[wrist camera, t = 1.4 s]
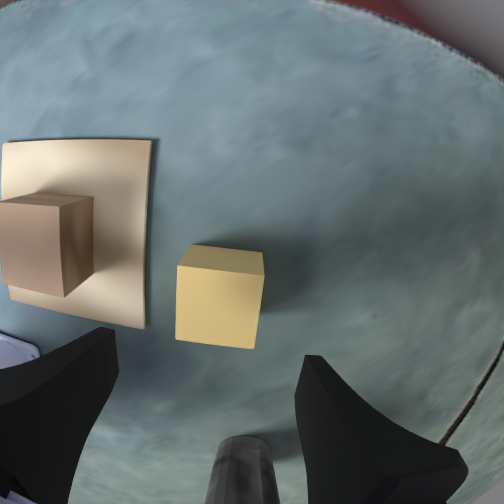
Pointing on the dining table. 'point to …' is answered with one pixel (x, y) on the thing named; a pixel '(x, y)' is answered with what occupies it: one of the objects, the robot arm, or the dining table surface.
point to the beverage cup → (243, 473)
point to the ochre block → (219, 296)
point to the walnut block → (46, 242)
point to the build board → (104, 218)
